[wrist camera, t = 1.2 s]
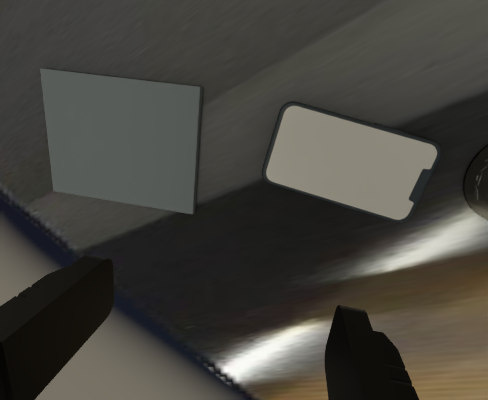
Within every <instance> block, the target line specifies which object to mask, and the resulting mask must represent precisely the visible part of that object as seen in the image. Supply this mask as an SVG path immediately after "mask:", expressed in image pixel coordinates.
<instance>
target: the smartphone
mask: <svg viewBox="0 0 488 400" xmlns="http://www.w3.org/2000/svg"><path fill="white" fill-rule="evenodd" d="M440 157H441V148H440V146H439V145H438V144H437V143H436V142H434V141H432V140H428V139H425V138H421V137H418V136H414V135H411V134H407V133H405V132H404V131H401V130H397V129H393V128H390V129H389V128H388V127H386V126H383V125H379V124H376V123H374V124H372V123H368V122H365V121H361V120H358V119H354V118H351V117H347V116H344V115H340V114H337V113H333V112H330V111H326V110H323V109H319V108H316V107H312V106H309V105H305V104H302V103H298V102H288V103H286V104H285V105H283V107H282V108H281V109H280V112H279V115H278V119H277V122H276V125H275V129H274V132H273V135H272V139H271V142H270V145H269V149H268V152H267V155H266V159H265V162H264V165H263V169H262V176H263V179H264V180H265V181H266V182H267V183H269V184H271V185H275V186H278V187H281V188H284V189H288V190H291V191H294V192H297V193H301V194H304V195H307V196H311V197H314V198H317V199H320V200H324V201H327V202H330V203H333V204H337V205H338V206H341V207H344V208H348V209H351V210H354V211H359V212H363V213H366V214H369V215H372V216H376V217H379V218H382V219H386V220H389V221H392V222H396V223H401V222H405V221H407V220H408V219H409V218H410V217H411V216H412V214H413V212H414V210H415V208H416V206H417V204H418V202H419V200H420V198H421V196H422V194H423V192H424V190H425V188H426V186H427V184H428V182H429V180H430V178H431V176H432V173H433V171H434V169H435V167H436V165H437V163H438V161H439V159H440Z"/></svg>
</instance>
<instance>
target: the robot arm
mask: <svg viewBox="0 0 488 400" xmlns="http://www.w3.org/2000/svg"><path fill="white" fill-rule="evenodd" d="M464 191H465V195H466V199H467V201H468V203H469V205H470V207H471V208H472V209H473V210H474V211H475V212H476V213H477V214H478V215H480V216H481V217H483V218H485V219H486V220H488V146H487V147H486V148H485V149H484V150H483V151H481V152H480V153H479V154H478V156H477V157H476V158H475V159H474V161H473V162H472V164H471V166H470V167H469V169H468V171H467V174H466V178H465V187H464ZM113 303H114V277H113V263H112V261H111V260H110V259H107V258H102V257H97V256H92V255H85V256H83V257H81V258H80V259H79V260H77V261H76V262H74V263H73V264H72V265H70V266H69V267H64V268H62V269H60V270H57V271H55V272H52V273H50V274H47V275H46V276H44V277H43V278H41V279H40V280H38V281H37V282H36V283H34V284H33V285H32V287H28V288H27V289H26V290H24V291H22V292H21V293H19V295H18V297H16V296H15V297H13V298H12V299H11V300H9V301H8V302H6V303H5V304H3V305H2V306H0V400H35V399H36V397H37V396H38V395H39V394H40V393H41V392H42V391H43V389H44V388H45V387H46V386H47V385H48V384H49V383H50V381H51V380H52V379H53V378H54V377H55V376H56V375H57V373H59V371H60V370H61V369H62V368H63V367H64V366H65V365H66V364H67V362H68V361H69V360H70V359H71V358H72V357H73V355H75V353H76V352H77V351H78V350H79V349H80V348H81V347H82V345H83V344H84V343H85V342H86V341H87V340H88V338H90V336H91V335H92V334H93V333H94V332H95V331H96V330H97V329H98V327H99V326H100V325H101V324H102V323H103V322H104V321H105V319H106V318H107V317H108V315H109V314H110V312H111V310H112V307H113ZM325 373H326V381H327V390H328V398H329V400H419V398H418V396H417V394H416V391H415V389H414V387H412V382H411V380H410V377H409V375H408V373H407V371H405V366H404V363H403V361H402V359H401V356H400V354H399V352H398V349H397V348H396V347H395V346H394V345H393V343H392V342H391V341H390V340H389V339H388V338H387V336H386V335H385V334H384V333H382V332H377V331H373V330H372V327H371V324H370V321H369V318H368V315H367V313H366V311H365V310H360V309H355V308H350V307H345V306H340V305H338V306H337V308H336V311H335V314H334V318H333V322H332V326H331V329H330V333H329V337H328V341H327V344H326V350H325Z"/></svg>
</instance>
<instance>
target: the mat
mask: <svg viewBox="0 0 488 400" xmlns="http://www.w3.org/2000/svg"><path fill="white" fill-rule="evenodd" d="M40 72H41V81H42V90H43V99H44V108H45V118H46V127H47V136H48V145H49V154H50V163H51V172H52V181H53V190H54V191H57V192H63V193H69V194H75V195H81V196H87V197H92V198H98V199H104V200H110V201H116V202H122V203H128V204H134V205H140V206H146V207H152V208H158V209H164V210H170V211H176V212H182V213H188V214H193V213H194V212H195V209H196V193H197V177H198V160H199V144H200V127H201V111H202V95H203V87H196V86H187V85H179V84H170V83H161V82H153V81H144V80H135V79H127V78H118V77H109V76H101V75H92V74H83V73H75V72H66V71H57V70H49V69H40Z"/></svg>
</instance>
